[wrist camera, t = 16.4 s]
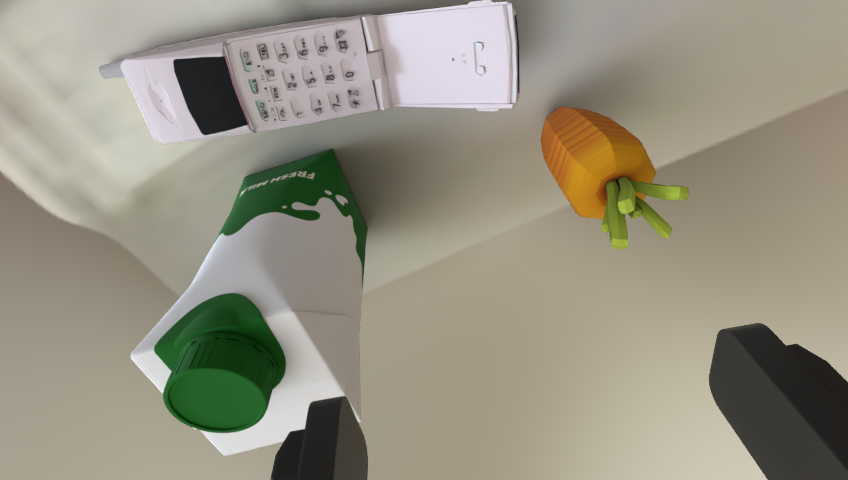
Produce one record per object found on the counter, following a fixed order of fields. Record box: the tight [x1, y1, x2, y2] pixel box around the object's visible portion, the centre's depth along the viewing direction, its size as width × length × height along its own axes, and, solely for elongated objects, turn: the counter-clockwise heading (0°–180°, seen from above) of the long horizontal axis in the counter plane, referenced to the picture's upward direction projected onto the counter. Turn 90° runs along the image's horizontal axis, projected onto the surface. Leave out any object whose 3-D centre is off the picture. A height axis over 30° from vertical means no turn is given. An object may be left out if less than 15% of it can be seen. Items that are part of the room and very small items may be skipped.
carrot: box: [541, 107, 689, 249], centre depth 28 cm, size 5×5×15 cm
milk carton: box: [131, 149, 367, 456], centre depth 29 cm, size 9×9×20 cm
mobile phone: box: [99, 0, 519, 144], centre depth 29 cm, size 6×6×25 cm
